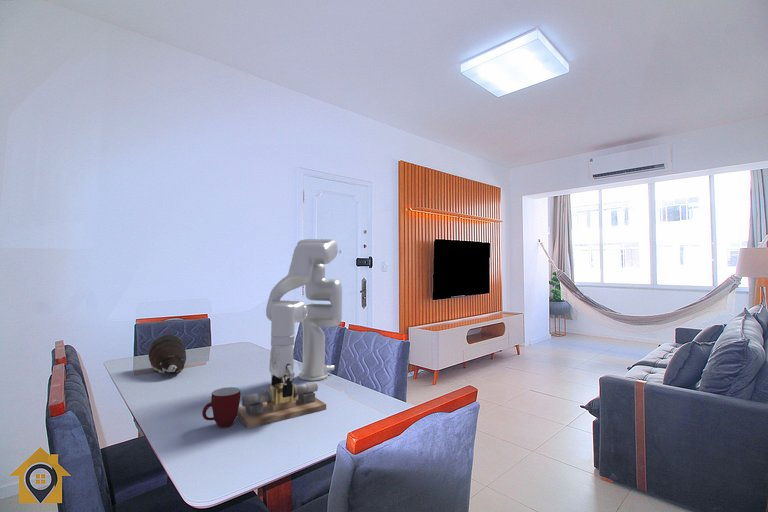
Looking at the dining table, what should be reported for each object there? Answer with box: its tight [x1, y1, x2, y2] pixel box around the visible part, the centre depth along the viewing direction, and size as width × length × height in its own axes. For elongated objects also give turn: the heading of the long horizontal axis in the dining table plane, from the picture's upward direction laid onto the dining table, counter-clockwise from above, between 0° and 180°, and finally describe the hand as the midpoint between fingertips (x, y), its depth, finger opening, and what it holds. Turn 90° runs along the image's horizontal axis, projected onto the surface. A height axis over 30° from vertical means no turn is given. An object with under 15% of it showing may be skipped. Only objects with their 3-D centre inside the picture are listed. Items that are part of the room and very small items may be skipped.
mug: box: [201, 386, 241, 429], centre depth 112 cm, size 10×8×10 cm
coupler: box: [269, 383, 294, 405], centre depth 124 cm, size 6×5×5 cm
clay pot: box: [148, 334, 187, 376], centre depth 166 cm, size 15×15×25 cm
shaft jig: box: [236, 381, 327, 429], centre depth 124 cm, size 26×14×8 cm, turn 127°
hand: (281, 392), depth 124 cm, fingers open, 9 cm apart
